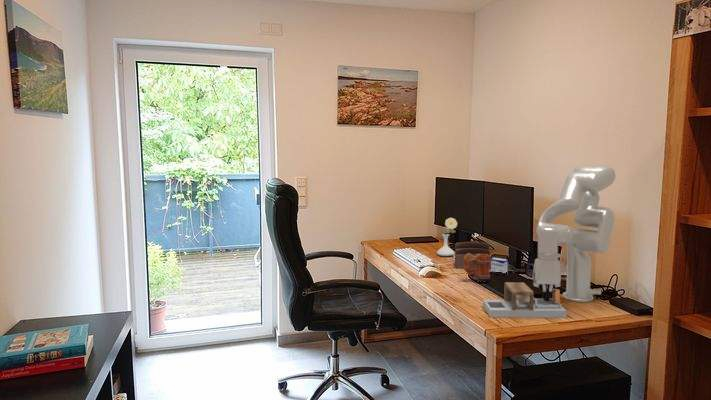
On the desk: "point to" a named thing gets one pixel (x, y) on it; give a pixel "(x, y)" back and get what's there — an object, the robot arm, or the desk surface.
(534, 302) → the sled
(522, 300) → the block
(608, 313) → the desk surface
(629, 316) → the desk surface
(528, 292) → the tunnel
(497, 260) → the box
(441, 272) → the desk surface
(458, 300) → the desk surface
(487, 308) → the track deck
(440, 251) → the flower in vase
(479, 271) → the mug
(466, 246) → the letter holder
